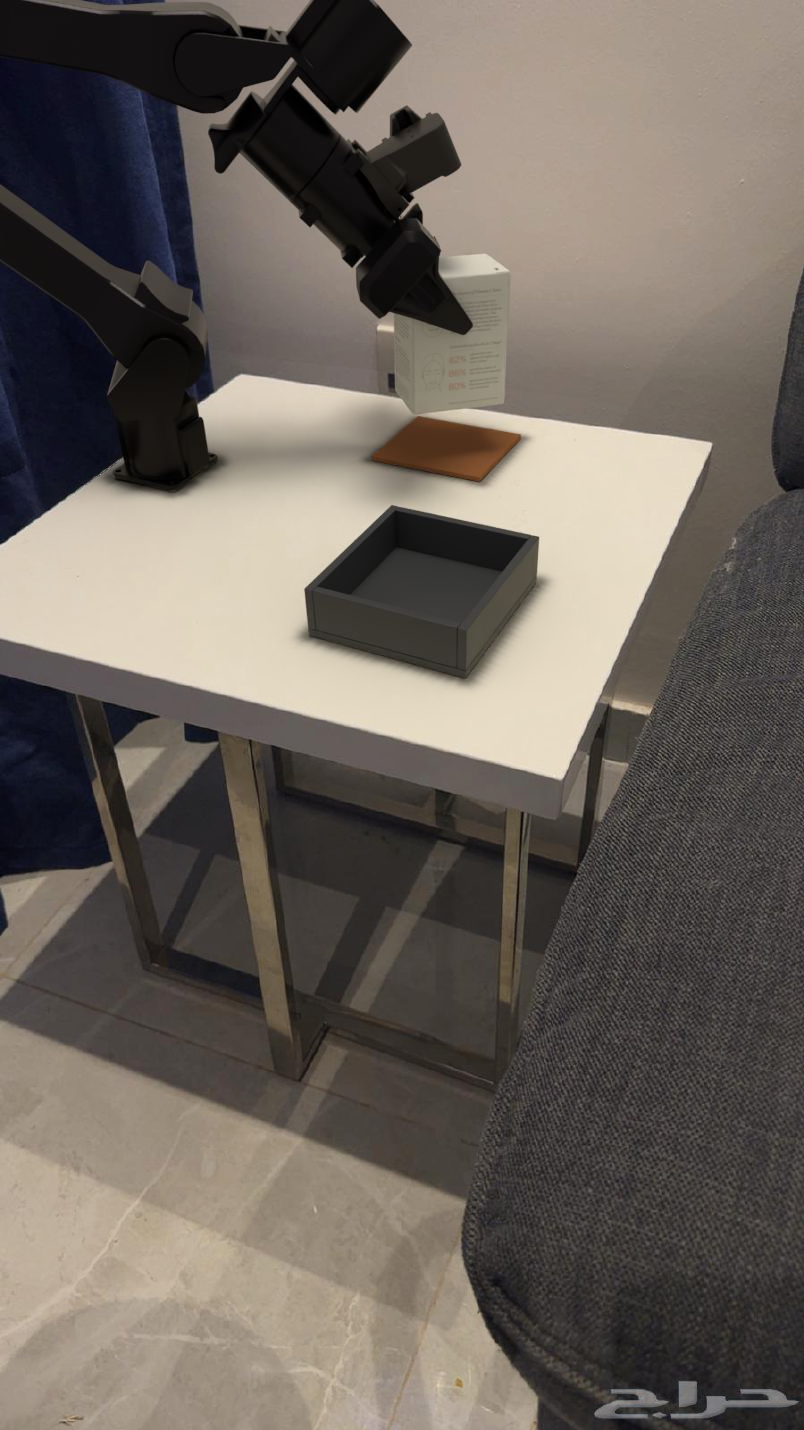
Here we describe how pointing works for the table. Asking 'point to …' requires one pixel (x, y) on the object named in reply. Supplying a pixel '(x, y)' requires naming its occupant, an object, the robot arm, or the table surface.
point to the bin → (423, 589)
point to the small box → (457, 343)
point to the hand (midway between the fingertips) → (462, 316)
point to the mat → (447, 448)
